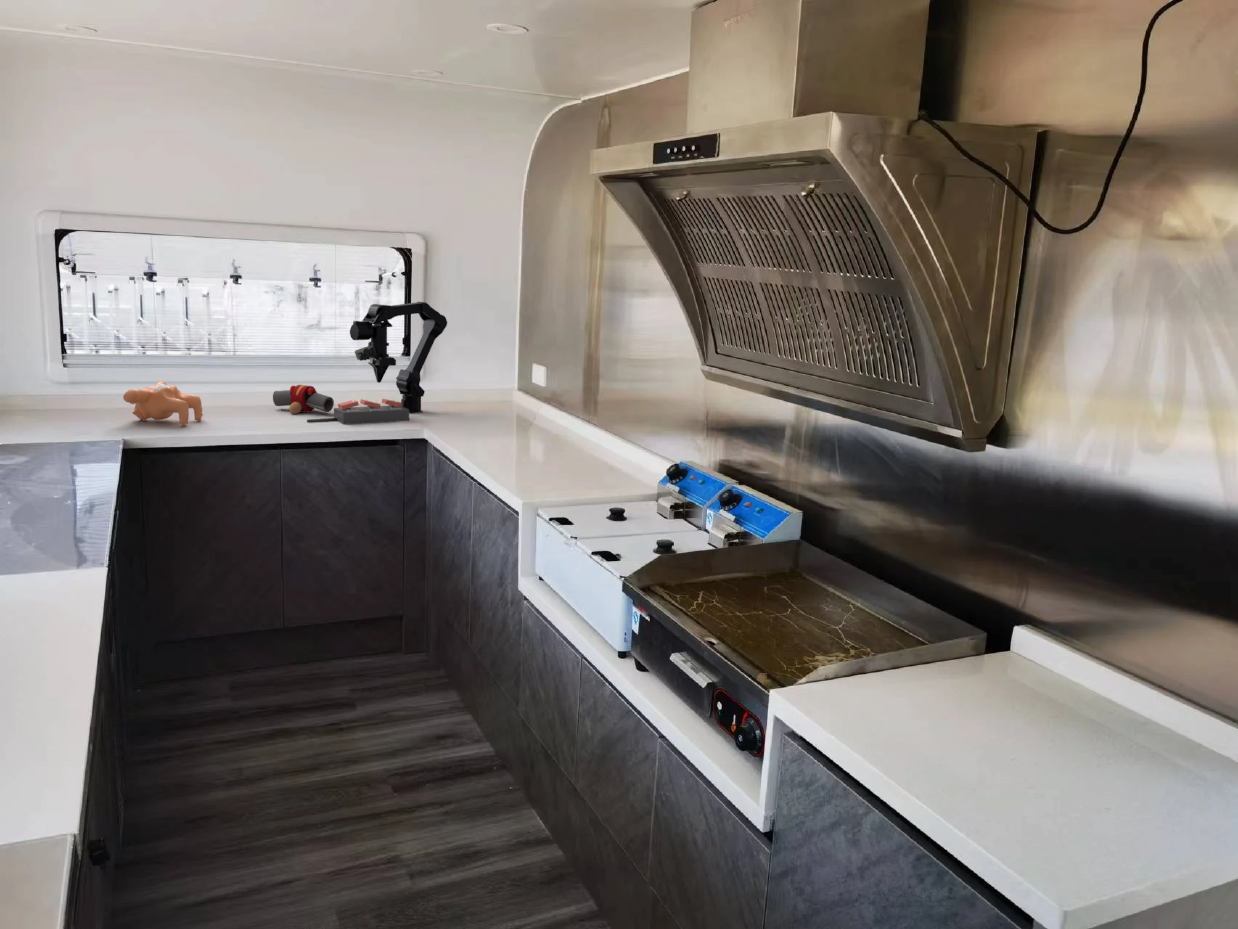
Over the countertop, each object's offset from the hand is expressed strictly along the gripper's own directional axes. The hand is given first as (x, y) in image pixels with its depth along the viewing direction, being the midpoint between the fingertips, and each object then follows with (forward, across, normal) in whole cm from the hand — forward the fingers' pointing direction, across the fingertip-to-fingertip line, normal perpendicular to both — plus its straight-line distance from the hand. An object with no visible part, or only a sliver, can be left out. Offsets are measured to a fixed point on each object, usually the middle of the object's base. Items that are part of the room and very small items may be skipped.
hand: (378, 382), depth 352 cm
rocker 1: (+6, +8, -14) cm, 17 cm away
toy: (+12, -14, -23) cm, 30 cm away
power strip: (+12, +9, -11) cm, 19 cm away
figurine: (+12, -7, -71) cm, 72 cm away
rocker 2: (+6, +8, -6) cm, 12 cm away
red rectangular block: (+6, +8, +2) cm, 10 cm away
